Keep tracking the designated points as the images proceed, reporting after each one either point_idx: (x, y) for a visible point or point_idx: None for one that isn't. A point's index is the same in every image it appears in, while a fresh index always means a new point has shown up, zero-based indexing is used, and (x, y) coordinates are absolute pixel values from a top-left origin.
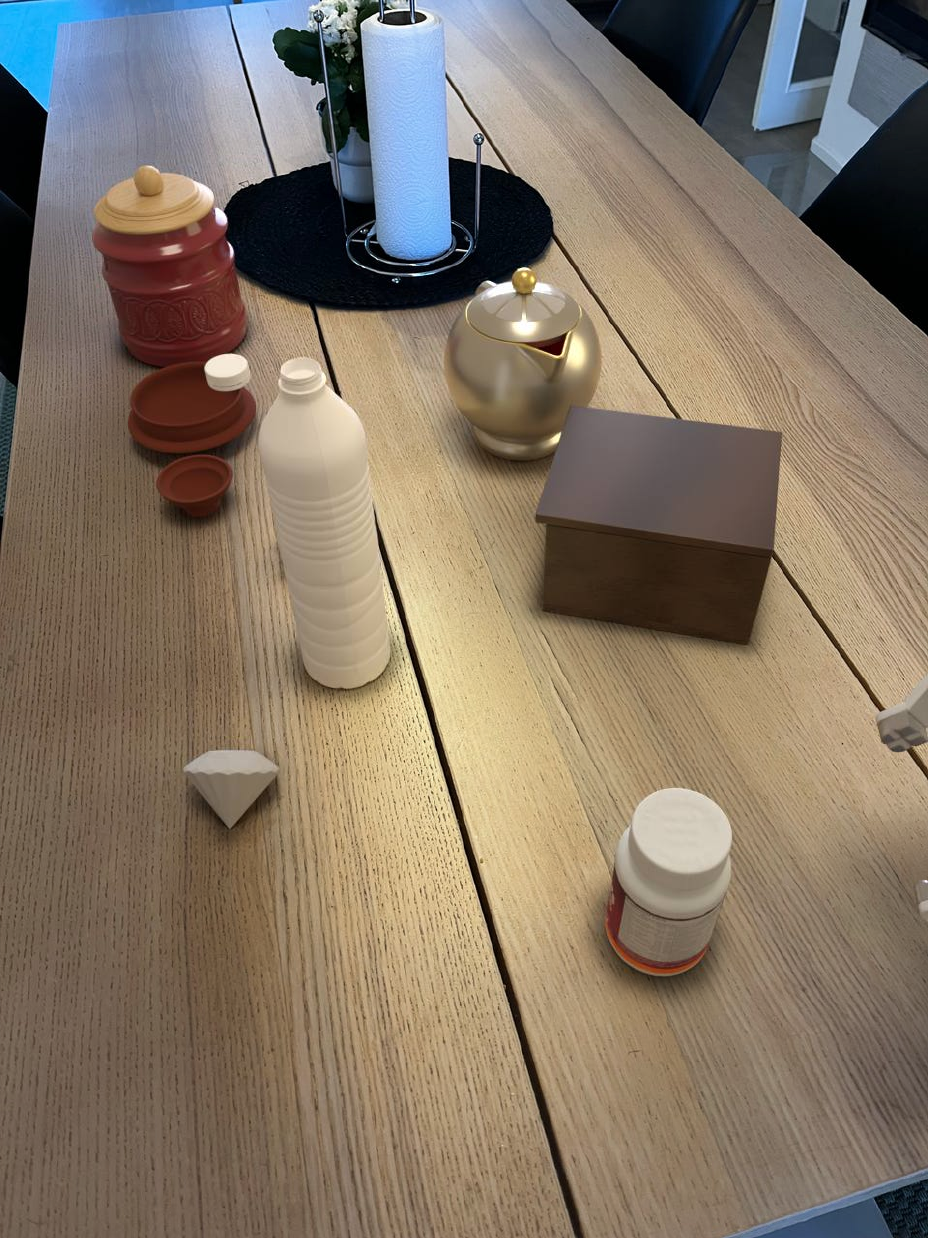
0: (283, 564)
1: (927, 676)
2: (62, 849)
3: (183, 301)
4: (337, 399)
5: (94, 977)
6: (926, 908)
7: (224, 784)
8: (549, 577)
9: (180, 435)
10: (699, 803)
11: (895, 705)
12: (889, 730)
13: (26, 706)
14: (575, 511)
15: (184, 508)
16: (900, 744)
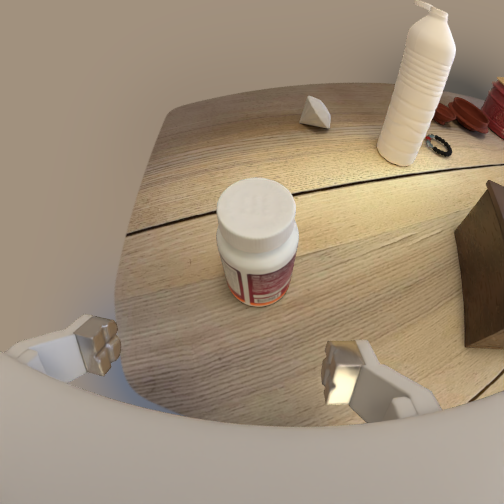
0: (427, 135)
1: (418, 386)
2: (284, 94)
3: (498, 107)
4: (445, 29)
5: (238, 105)
6: (83, 315)
7: (306, 104)
8: (468, 217)
9: (456, 108)
10: (281, 218)
11: (375, 355)
12: (336, 347)
13: (336, 85)
14: (500, 199)
15: None
16: (324, 370)
